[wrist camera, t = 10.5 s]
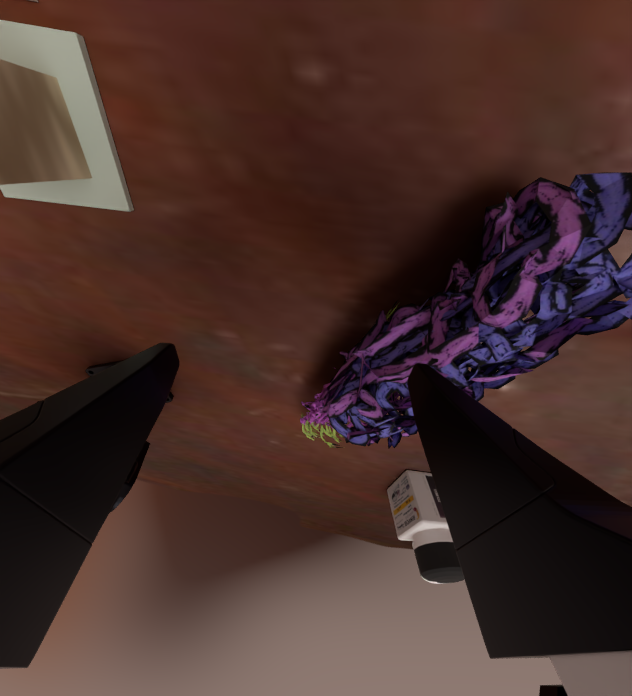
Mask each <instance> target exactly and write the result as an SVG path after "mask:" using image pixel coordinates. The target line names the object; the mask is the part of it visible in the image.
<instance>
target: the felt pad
mask: <svg viewBox="0 0 632 696" xmlns="http://www.w3.org/2000/svg"><path fill="white" fill-rule="evenodd" d="M0 59H2V60H5V61H8V62H11V63H14V64H17V65H20V66H23V67H26V68H29V69H32V70H35V71H38V72H41V73H44V74H47V75H50V76H53V77H56V78H57V80H58V83H59V86H60V89H61V91H62V94H63V97H64V100H65V103H66V105H67V108H68V111H69V114H70V117H71V119H72V122H73V125H74V128H75V131H76V133H77V136H78V139H79V142H80V145H81V147H82V150H83V153H84V156H85V159H86V162H87V164H88V167H89V170H90V173H91V176H92V178H89V179H75V180H61V181H47V182H33V183H19V184H5V185H0V189H1V191H2V193H3V195H4V196H5V197H11V198H19V199H28V200H36V201H44V202H53V203H61V204H70V205H78V206H87V207H95V208H103V209H112V210H120V211H129V212H131V211H134V208H133V205H132V201H131V198H130V195H129V191H128V188H127V184H126V181H125V178H124V174H123V171H122V167H121V164H120V161H119V157H118V154H117V150H116V147H115V144H114V140H113V137H112V133H111V130H110V127H109V123H108V120H107V116H106V113H105V110H104V106H103V103H102V99H101V96H100V93H99V89H98V86H97V82H96V79H95V76H94V72H93V69H92V65H91V62H90V59H89V55H88V52H87V48H86V45H85V42H84V38H83V36H81V35H79V34H77V33H74V32H68V31H63V30H57V29H51V28H45V27H39V26H33V25H27V24H22V23H16V22H10V21H4V20H0Z"/></svg>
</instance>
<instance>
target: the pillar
mask: <svg viewBox="0 0 632 696" xmlns="http://www.w3.org/2000/svg"><path fill="white" fill-rule="evenodd" d="M89 178H92V176H91V173H90V170H89V167H88V164H87V162H86V159H85V156H84V153H83V150H82V147H81V145H80V142H79V139H78V136H77V133H76V131H75V128H74V125H73V122H72V119H71V117H70V114H69V111H68V108H67V105H66V103H65V100H64V97H63V94H62V91H61V89H60V86H59V83H58V80H57V78H56V77H53V76H50V75H47V74H44V73H41V72H38V71H35V70H32V69H29V68H26V67H23V66H20V65H17V64H14V63H11V62H8V61H5V60H2V59H0V185H5V184H19V183H33V182H47V181H61V180H75V179H89Z"/></svg>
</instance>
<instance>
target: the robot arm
mask: <svg viewBox="0 0 632 696" xmlns="http://www.w3.org/2000/svg"><path fill="white" fill-rule="evenodd" d="M178 368H179V358H178V355H177V352H176V348H175V346H174V344H172V343H159V344H157V345H155V346H153V347H151V348H149V349H146V350H144V351H142V352H140V353H138V354H136V355H134V356H132V357H130V358H128V359H126V360H124V361H120V362H114V363H108V364H102V365H96V366H90V367H88V368H87V369H86V373H87V374H88V375H89V376H90V377H89V378H87V379H85V380H83V381H81V382H79V383H77V384H74V385H72V386H70V387H68V388H66V389H64V390H62V391H60V392H58V393H56V394H54V395H52V396H50V397H48V398H46V399H45V400H44V401H43V400H42V401H38V402H37V403H35V404H33V405H31V406H29V407H27V408H25V409H23V410H21V411H19V412H17V413H14V414H12V415H10V416H8V417H6V418H4V419H2V420H0V669H2V668H27V667H28V666H29V664H30V663H31V661H32V659H33V658H34V656H35V654H36V652H37V651H38V648H39V647H40V645H41V643H42V641H43V639H44V637H45V635H46V633H47V631H48V629H49V627H50V625H51V623H52V621H53V620H54V618H55V616H56V614H57V612H58V610H59V608H60V606H61V604H62V602H63V600H64V598H65V596H66V595H67V593H68V591H69V589H70V587H71V585H72V583H73V581H74V579H75V577H76V575H77V573H78V571H79V569H80V567H81V565H82V563H83V562H84V560H85V558H86V556H87V554H88V552H89V550H90V548H91V546H92V543H93V542H94V540H95V538H96V536H97V534H98V532H99V530H100V528H101V527H102V525H103V523H104V521H105V519H106V518H107V516H108V514H109V513H110V512H112V511H113V510H114V509H115V508H116V507H117V506H118V505H119V504H120V503H121V502H122V500H123V499H124V498H125V497H126V495H127V494H128V493H129V491H130V489H131V488H132V486H133V484H134V483H135V480H136V478H137V476H138V473H139V471H140V468H141V466H142V463H143V461H144V458H145V455H146V453H147V450H148V448H149V445H150V443H149V442H147V441H146V440H147V438H148V436H149V434H150V432H151V430H152V428H153V426H154V424H155V422H156V420H157V418H158V416H159V415H160V413H161V411H162V409H163V407H164V405H165V403H168V402H171V401H172V400H173V396H172V395H171V394H170V390H171V387H172V384H173V382H174V379H175V376H176V374H177V371H178ZM407 384H408V389H409V395H410V400H411V405H412V410H413V415H414V419H415V423H416V426H417V429H418V432H419V435H420V439H421V442H422V445H423V448H424V451H425V455H426V458H427V461H428V464H429V467H430V470H431V474H432V477H433V480H434V483H435V486H436V489H437V493H438V496H439V499H440V502H441V505H442V508H443V512H444V515H445V518H446V521H447V524H448V528H449V531H450V534H451V537H452V540H453V543H454V547H455V549H456V554H457V557H458V560H459V563H460V566H461V569H462V573H463V576H464V579H465V582H466V585H467V588H468V591H469V595H470V598H471V601H472V604H473V607H474V610H475V614H476V617H477V620H478V623H479V626H480V630H481V633H482V636H483V639H484V642H485V645H486V648H487V651H488V654H489V656H490V658H491V659H496V658H497V659H499V658H544V657H545V658H548V657H549V658H550V660H551V662H552V664H553V666H554V668H555V670H556V672H557V674H558V676H559V678H560V680H561V682H562V685H541V686H540V693H539V694H540V695H539V696H632V507H630V506H629V505H627V504H625V503H623V502H621V501H620V500H618V499H616V498H615V497H613V496H612V495H610V494H609V493H607V492H606V491H604V490H603V489H601V488H600V487H598V486H597V485H595V484H594V483H592V482H591V481H589V480H588V479H586V478H585V477H583V476H582V475H580V474H579V473H577V472H576V471H574V470H573V469H571V468H570V467H568V466H567V465H565V464H564V463H562V462H561V461H559V460H558V459H556V458H555V457H553V456H552V455H550V454H549V453H547V452H546V451H545V450H543V449H542V448H540V447H539V446H537V445H536V444H535V443H533V442H532V441H531V440H529V439H528V438H526V437H525V436H524V435H522V434H521V433H520V432H518V431H517V430H516V429H514V428H513V429H512V427H511V426H510V425H509V424H507V423H506V422H505V421H503V420H502V419H501V418H499V417H498V416H497V415H495V414H494V413H493V412H491V411H490V410H488V409H487V408H486V407H484V406H483V405H482V404H480V403H479V402H478V401H476V400H475V399H474V398H472V397H471V396H470V395H468V394H467V393H465V392H464V391H463V390H461V389H460V388H459V387H457V386H456V385H455V384H453V383H452V382H451V381H449V380H448V379H447V378H445V377H444V376H443V375H441V374H440V373H438V372H437V371H436V370H434V369H433V368H432V367H430V366H429V365H428V364H424V363H416V364H415V365H414V366H413V368H412V371H411V373H410V375H409V377H408V380H407Z"/></svg>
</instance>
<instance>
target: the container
mask: <svg viewBox="0 0 632 696" xmlns="http://www.w3.org/2000/svg"><path fill="white" fill-rule="evenodd" d="M387 493H388V497H389V501H390V506H391V510H392V514H393V519H394V523H395V527H396V532H397V536H398V539H399V540H406V541H414V542H413V543H412V545H413V549H414V552H415V556H416V560H417V564H418V568H419V571H420V575H421V577H422V578H423V579H424V580H426V581H428V582H430V583H436V584H444V583H454V582H459V581H462V580H464V576H463V573H462V569H461V566H460V563H459V560H458V557H457V554H456V549H455V547H454V543H453V540H452V537H451V534H450V531H449V528H448V524H447V521H446V518H445V515H444V512H443V508H442V505H441V502H440V499H439V496H438V493H437V489H436V486H435V483H434V480H433V477H432V474H431V473H427V472H420V471H412V470H406V471H405V472H404V473H403V474H402V475H401V476H400V477H399V478H398V479H397V480H396V481H395V482H394V483H393V484H392V485H391V486H390V487H389V488H388V489H387Z"/></svg>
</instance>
